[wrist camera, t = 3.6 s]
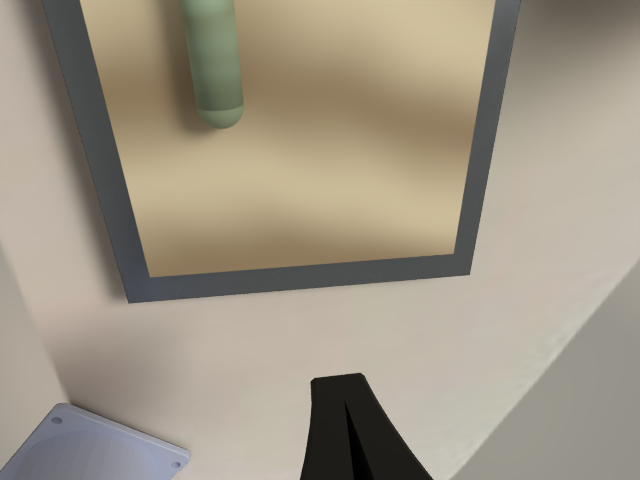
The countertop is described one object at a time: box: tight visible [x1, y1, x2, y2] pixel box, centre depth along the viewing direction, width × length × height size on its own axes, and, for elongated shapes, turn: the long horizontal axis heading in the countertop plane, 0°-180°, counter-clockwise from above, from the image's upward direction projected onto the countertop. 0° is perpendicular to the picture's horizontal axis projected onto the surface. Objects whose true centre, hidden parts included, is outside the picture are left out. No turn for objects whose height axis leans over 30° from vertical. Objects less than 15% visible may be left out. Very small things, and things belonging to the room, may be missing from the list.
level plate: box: [80, 0, 496, 277], centre depth 14 cm, size 12×12×2 cm
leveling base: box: [42, 0, 521, 303], centre depth 16 cm, size 16×15×2 cm
